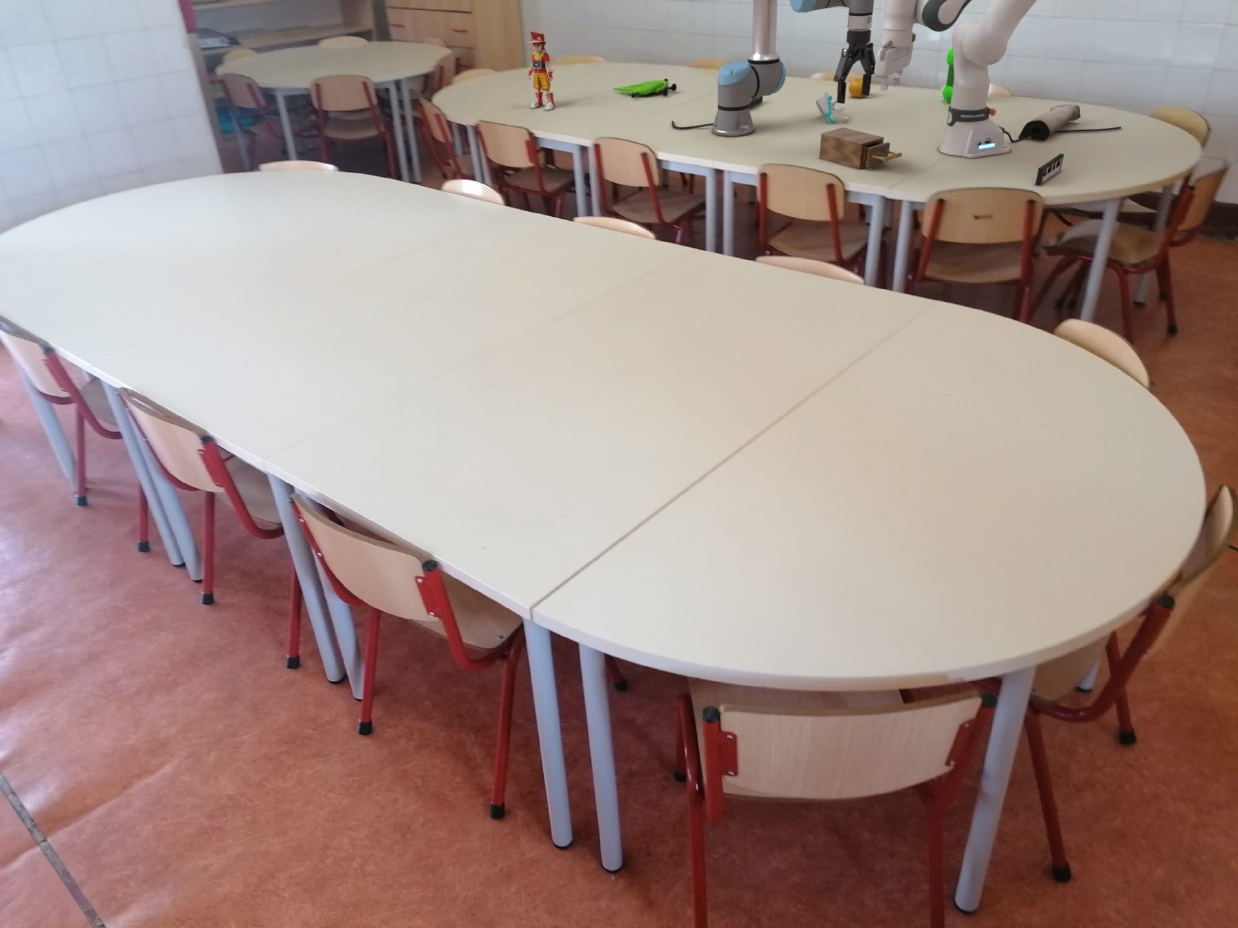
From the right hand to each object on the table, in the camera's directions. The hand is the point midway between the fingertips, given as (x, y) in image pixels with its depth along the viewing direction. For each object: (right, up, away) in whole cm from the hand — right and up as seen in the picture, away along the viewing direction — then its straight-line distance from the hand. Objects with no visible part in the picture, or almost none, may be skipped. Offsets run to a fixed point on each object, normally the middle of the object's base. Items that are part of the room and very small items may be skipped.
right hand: (889, 87), depth 279 cm
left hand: (-6, +4, +20) cm, 21 cm away
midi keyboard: (+47, -30, -4) cm, 56 cm away
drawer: (-3, -18, +16) cm, 24 cm away
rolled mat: (+67, 0, +37) cm, 77 cm away
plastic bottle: (+48, +26, +76) cm, 93 cm away
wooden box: (-7, -16, +21) cm, 27 cm away
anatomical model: (-3, +15, +65) cm, 66 cm away
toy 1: (-117, +35, +104) cm, 160 cm away
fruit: (+15, +34, +91) cm, 98 cm away
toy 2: (-75, +47, +118) cm, 147 cm away
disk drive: (-33, +30, +89) cm, 99 cm away
